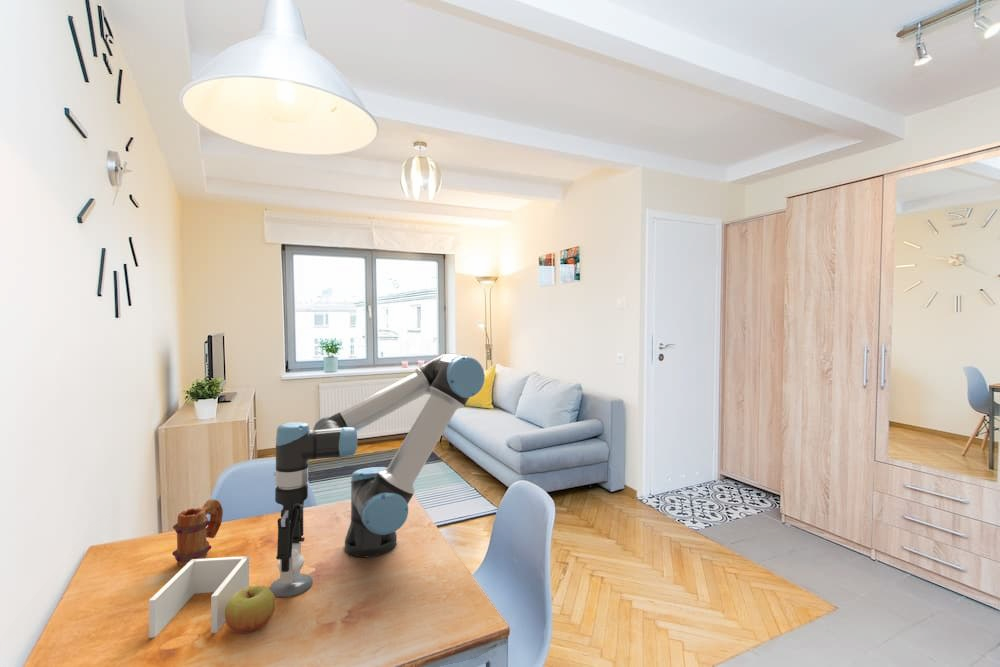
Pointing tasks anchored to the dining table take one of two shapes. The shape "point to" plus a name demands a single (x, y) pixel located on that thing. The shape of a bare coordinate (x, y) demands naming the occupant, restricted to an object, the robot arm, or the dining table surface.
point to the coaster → (292, 586)
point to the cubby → (199, 589)
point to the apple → (250, 609)
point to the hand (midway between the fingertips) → (290, 575)
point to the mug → (196, 531)
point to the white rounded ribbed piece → (295, 562)
